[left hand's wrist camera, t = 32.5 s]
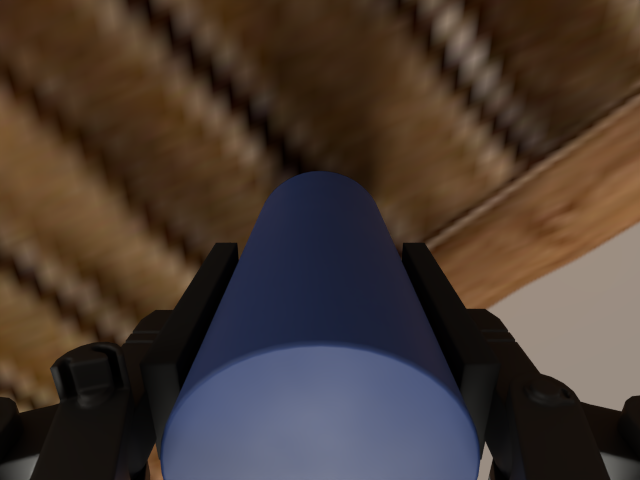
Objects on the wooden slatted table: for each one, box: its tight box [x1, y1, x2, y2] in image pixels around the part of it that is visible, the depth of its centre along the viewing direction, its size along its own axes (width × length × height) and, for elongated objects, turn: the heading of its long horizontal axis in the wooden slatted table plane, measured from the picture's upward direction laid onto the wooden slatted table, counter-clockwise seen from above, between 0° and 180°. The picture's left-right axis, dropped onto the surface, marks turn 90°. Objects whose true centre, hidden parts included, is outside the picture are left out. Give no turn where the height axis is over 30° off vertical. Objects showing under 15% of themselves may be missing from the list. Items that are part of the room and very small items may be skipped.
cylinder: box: [160, 171, 480, 480], centre depth 13 cm, size 6×6×13 cm
